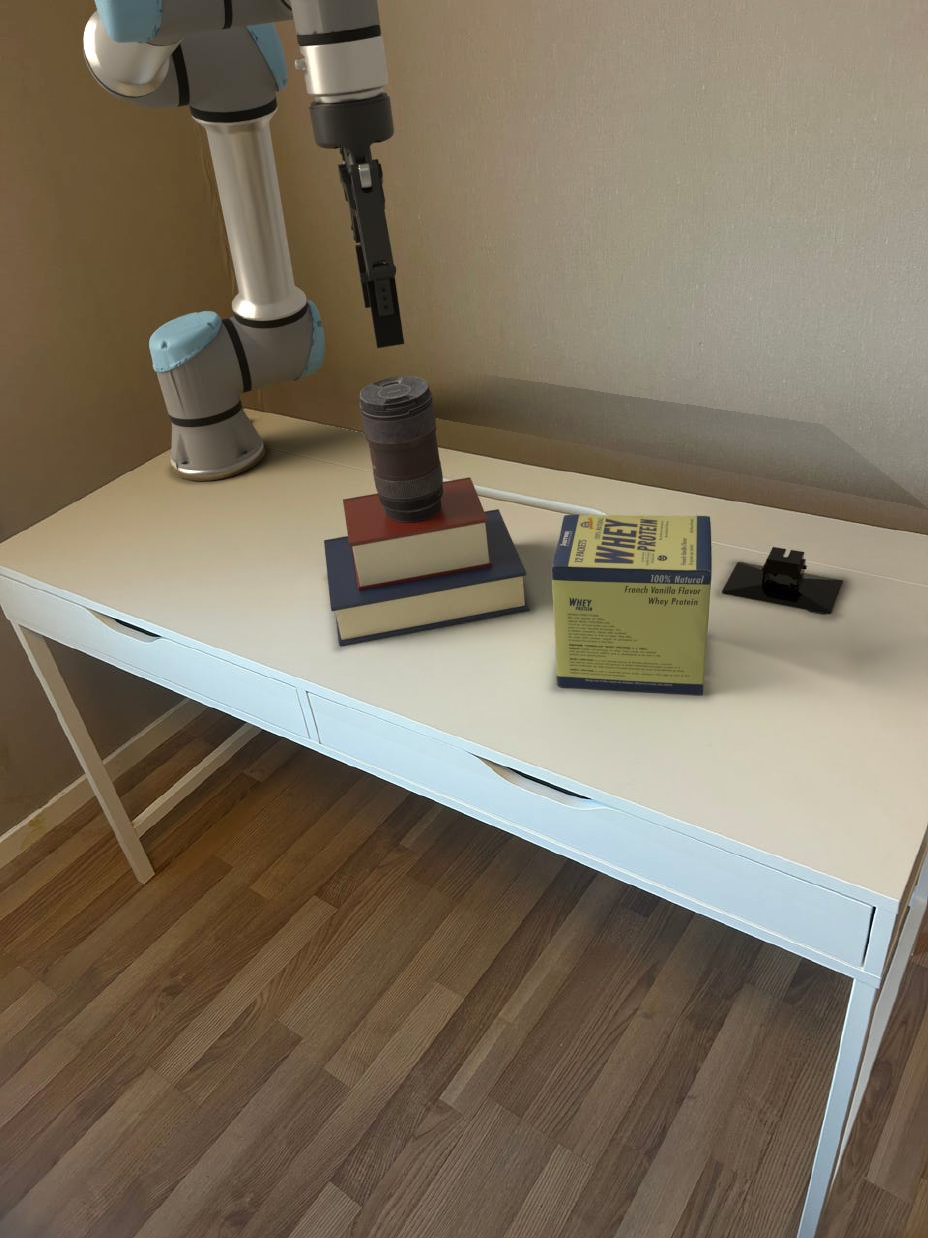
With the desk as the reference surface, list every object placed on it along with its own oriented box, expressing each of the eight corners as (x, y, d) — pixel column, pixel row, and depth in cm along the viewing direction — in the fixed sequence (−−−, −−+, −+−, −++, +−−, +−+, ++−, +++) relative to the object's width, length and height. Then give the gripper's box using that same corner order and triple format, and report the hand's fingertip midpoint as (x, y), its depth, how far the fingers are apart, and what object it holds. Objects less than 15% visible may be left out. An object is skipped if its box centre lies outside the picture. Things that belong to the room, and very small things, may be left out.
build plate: (843, 583, 110) (848, 549, 107) (830, 617, 105) (835, 583, 102) (737, 563, 115) (740, 531, 112) (720, 595, 110) (723, 561, 107)
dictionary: (351, 544, 118) (342, 499, 114) (475, 522, 119) (470, 476, 115) (358, 590, 109) (349, 543, 105) (492, 566, 110) (487, 518, 106)
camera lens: (370, 503, 112) (349, 384, 104) (433, 486, 114) (417, 368, 106) (390, 533, 106) (368, 409, 97) (456, 514, 108) (441, 391, 99)
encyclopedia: (331, 575, 123) (323, 540, 120) (501, 544, 125) (498, 508, 121) (339, 646, 110) (330, 608, 107) (529, 610, 112) (526, 572, 108)
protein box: (705, 696, 96) (713, 569, 87) (555, 688, 99) (547, 566, 90) (705, 635, 104) (712, 513, 95) (566, 630, 108) (560, 512, 99)
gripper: (303, 86, 95) (340, 296, 108) (313, 117, 75) (357, 370, 87) (375, 76, 96) (404, 286, 108) (405, 104, 76) (436, 357, 88)
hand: (383, 324), depth 98 cm, fingers open, 13 cm apart
